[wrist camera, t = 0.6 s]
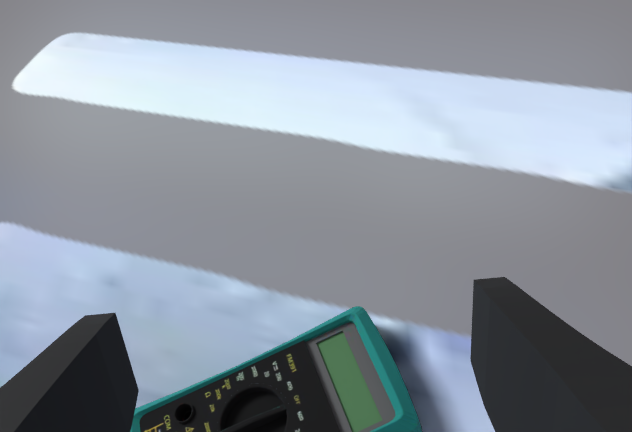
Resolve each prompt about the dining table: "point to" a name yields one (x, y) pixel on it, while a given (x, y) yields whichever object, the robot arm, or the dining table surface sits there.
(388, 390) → the digital multimeter
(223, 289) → the dining table surface
